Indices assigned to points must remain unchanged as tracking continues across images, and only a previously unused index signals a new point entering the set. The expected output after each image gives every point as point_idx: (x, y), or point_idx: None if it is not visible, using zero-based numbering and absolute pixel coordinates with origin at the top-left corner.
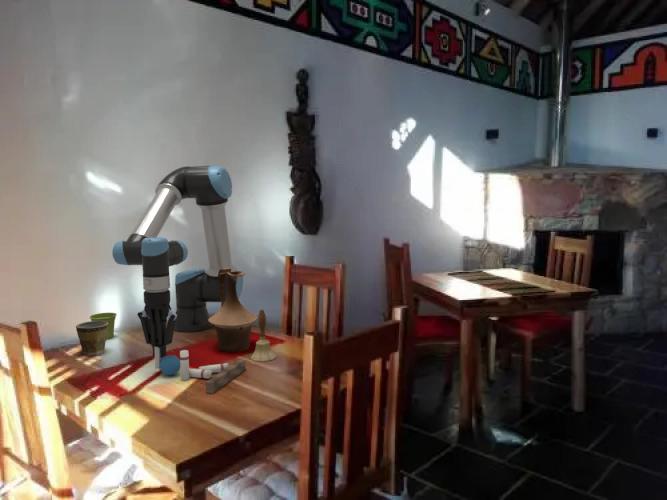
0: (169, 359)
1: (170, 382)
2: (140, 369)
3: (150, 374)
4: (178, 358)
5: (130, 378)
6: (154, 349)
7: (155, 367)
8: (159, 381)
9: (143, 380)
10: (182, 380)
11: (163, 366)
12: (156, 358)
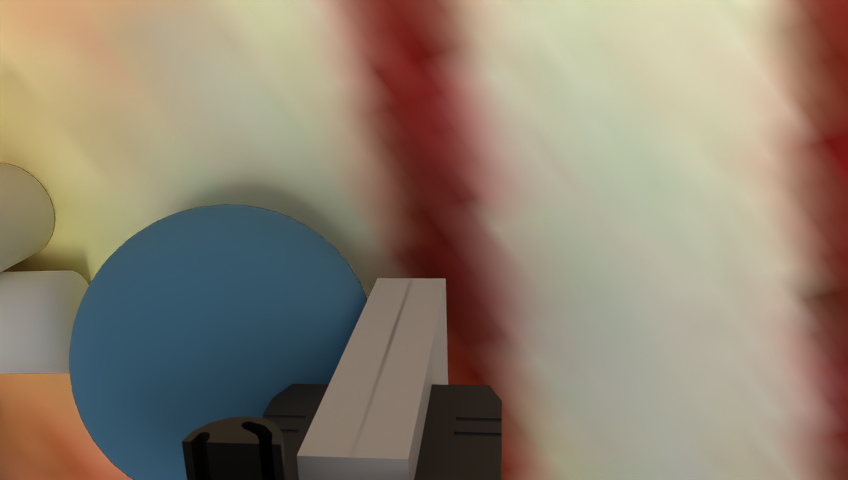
0: (119, 322)
1: (99, 73)
2: (779, 369)
3: (530, 247)
4: (112, 461)
5: (708, 42)
6: (449, 458)
7: (442, 283)
8: (251, 62)
9: (478, 29)
10: (2, 163)
11: (222, 221)
12: (399, 340)
